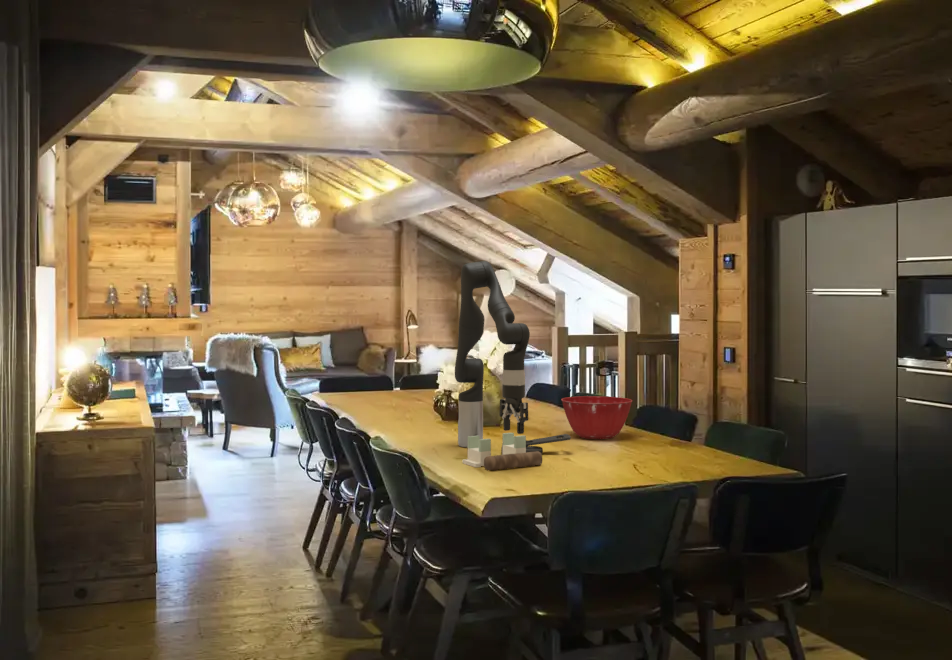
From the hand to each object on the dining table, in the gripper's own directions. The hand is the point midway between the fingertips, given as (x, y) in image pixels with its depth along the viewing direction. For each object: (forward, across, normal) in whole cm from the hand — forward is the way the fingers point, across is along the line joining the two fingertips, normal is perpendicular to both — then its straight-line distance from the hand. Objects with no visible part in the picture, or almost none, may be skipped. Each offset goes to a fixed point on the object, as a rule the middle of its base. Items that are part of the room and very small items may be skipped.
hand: (513, 432), depth 306 cm
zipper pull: (+12, -19, +22) cm, 31 cm away
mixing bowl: (+12, -39, +64) cm, 76 cm away
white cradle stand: (+12, -11, 0) cm, 16 cm away
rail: (+12, 0, 0) cm, 12 cm away
